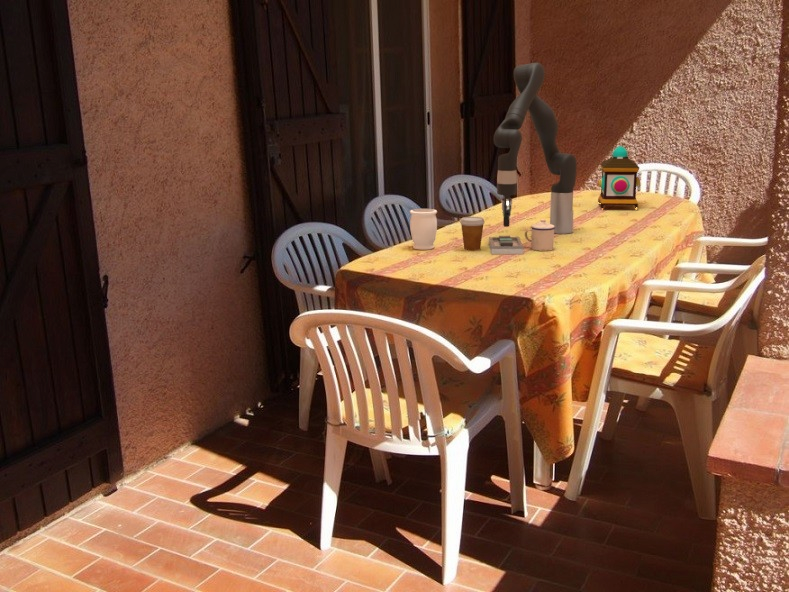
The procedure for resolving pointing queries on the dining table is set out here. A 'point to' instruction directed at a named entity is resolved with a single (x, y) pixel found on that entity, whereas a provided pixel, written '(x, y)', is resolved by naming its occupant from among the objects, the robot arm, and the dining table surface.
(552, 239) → the teacup with lid
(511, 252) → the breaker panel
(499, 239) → the grey rectangular prism
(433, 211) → the jar
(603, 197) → the decorative lantern
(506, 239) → the teal rectangular box
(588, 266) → the dining table surface
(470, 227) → the disposable coffee cup
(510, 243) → the dark taupe block
